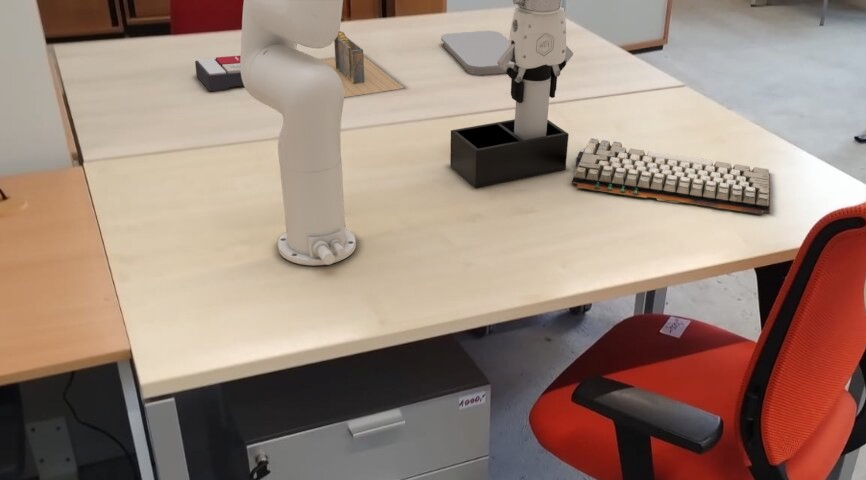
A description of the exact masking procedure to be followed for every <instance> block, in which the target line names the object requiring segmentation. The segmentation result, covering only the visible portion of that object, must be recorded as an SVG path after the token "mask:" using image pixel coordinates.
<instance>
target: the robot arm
mask: <svg viewBox="0 0 866 480" xmlns="http://www.w3.org/2000/svg"><path fill="white" fill-rule="evenodd" d="M561 1H562V0H512V3H513V4H514V5H517V7H515V9H514V11H513V14H512V20H511V24H510V29H509V30H510V31H509V39H508V40H509V48H508V49H507V50H506V52H505V53H504V54H503V55H502V56H501V57H500V59H499V60H498V61H497V64H498V65H499V66H500V67H501V68H502V69H503V70H504V72H505V73H504V74H506V75H507V76H508V77H509V78H510V79H511V83H510V96H511V99H512V100H513V101H515V102H516V101H517V102H518V103H522V102H523V93H524V82H522V81H521V80H522V78H523V75H524V73H525V71H526V69H531V68H536V67H539V66H542V65H549V66H551V80H550V81H551V83H550V95H549V98H551V99H553V98H555V97H556V91H557V86H558V85H557V84H558V83H557V82H558V77H560V76H561V71H563V69H564V68H565V67H566V66H567V63H568V62H569V61H571V58H572V57H573V56H574V52H573V50H571V48H569V46H568V45H567V23H566V22H567V21H566V14H565V8H564V7H562V6H561V4H562V3H561ZM343 4H344V0H243V5H242V19H241V35H240V36H241V38H240V41H241V42H240V56H241V58H240V69H241V78H242V81H243V84H244V86H243V87H244V89H245V90H246V92H247V93H248V94H249V95H250V96H251V98H253V99H254V100H256V101H258V102H259V103H260V104H263V105H264V106H267V107H269V108H271V109H272V110H274V111H276V112H278V113H279V114H281V116H282V120H283V121H282V126H281V130H280V131H279V136H278V141H277V155H278V162H279V171H280V172H279V174H280V182H281V193H282V201H283V202H282V203H283V212H284V222H285V223H284V224H285V232H283V233H282V235H280V236H279V237H278V240H277V250H278V252H279V254H280V255H281V257H282V258H284V259H285V260H286V261H289V262H291V263H295V264H297V265H303V266H315V267H316V266H326V265H327V266H328V265H332V264H335V263H339V262H341V261H343V260H345V259H347V258H348V257H350V256H351V255H352V254H353V253H354V252H355V250H356V247H357V238H356V236H355V234H354V233H353V232H352V231H351V230H349V229H348V228H346V216H345V214H346V213H345V199H344V198H345V196H344V183H343V182H344V178H343V177H344V176H343V163H342V146H341V145H342V144H341V141H342V140H341V128H342V127H341V126H342V125H341V124H342V117H343V111H344V110H343V109H344V104H345V103H344V102H345V97H344V88H343V84H342V81H341V79H340V77H339V75H338V74H337V73H336V71H335V70H334V69H333V68H332V67H331V66H329V65H328V64H326V63H325V62H323V61H321V60H322V59H320V58H318V57H315V56H313V55H311V54H309V53H306V52H304V51H301V50H298V45H300V46H303V47H305V48H309V49H317V50H318V49H325V48H327V47H329V46H330V45H332V44H333V43H334V40H335V39H336V37H337V35H338V33H339V31H340V29H341V22H342V15H343ZM509 61H511V62H514V63H513V66H512V68H511V67H510V66H509Z"/></svg>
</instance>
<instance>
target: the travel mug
mask: <svg viewBox="0 0 866 480" xmlns="http://www.w3.org/2000/svg"><path fill="white" fill-rule="evenodd" d="M550 80H551V66H549V65H542V66H539V67H536V68H531V69H526V71H525V73H524V75H523V78H522V80H521V81H522V82H524V93H523V102H522V103H518V102H517V101H515V109H514V110H515V111H514V119H515V124H514V134H515V135H517V136H518V137H519V138H521V139H522V140H528V139H533V138H539V137H544V136H546V132H547V119H548V118H549V105H550V97H549V95H550V83H551V81H550ZM548 120H549V119H548Z"/></svg>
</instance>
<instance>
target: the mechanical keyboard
mask: <svg viewBox="0 0 866 480" xmlns="http://www.w3.org/2000/svg"><path fill="white" fill-rule="evenodd" d="M577 155H578V156H576V159H575V167H576V169H575V172H574V175H573V177H572V179H571V183H572V184H574V185H575V184H576V188H578V189H583V190H584V189H585V190H590V191H597V192H602V193H609V194H618V195H622V196H623V195H624V196H630V197H636V198H642V199H643V198H645V199H648V198H653V199H656V201H660V202H668V203H675V204H679V203H682V204H683V203H684V204H691V205H698V206H702V207H710V208H713V209H718V210H729V211H734V212H741V213H747V214H756V215H763V214H764V213H771V173H770V170H769V168H765V167H757V166H754V167H753V169H752V170H751V167H750V165H743V164H739V163H736V164H734V166H733V167H732V163H731V162H723V161H716V162H715V163H714V164H713V160H712V159H707V158H701V157H694V156H688V155H681V154H676V153H675V154H674V153H668V152H663V151H662V152H660V151H655V150H654V151H653V150H649V151H647V153H645V150H644V149H637V148H632V147H631V148H629V150H628V152H627V148H626V147H625V146H624V147H623V144H622V142H620V141H613V142H612V143H610V140H604V139H601V140H599V139H598V138H592V137H591V138H590V139H589V141H588V143H587V144H586V145H585V148H584V149H583V151H579V152H578V154H577Z"/></svg>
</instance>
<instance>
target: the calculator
mask: <svg viewBox="0 0 866 480" xmlns="http://www.w3.org/2000/svg"><path fill="white" fill-rule="evenodd" d="M240 58H241V55H229V56H216V57H215V58H200V59H197V60H195V61H194V63H195V65H194V66H195V75H196V77H197V78H198V80H199V81H200V82H201V83H202V85H204V87H205V88H206V89H207V91H209V92H216V91H217V92H218V91H227V90H228V89H229V88H231V87H244V84H243V81H242V78H241V69H240Z"/></svg>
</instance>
